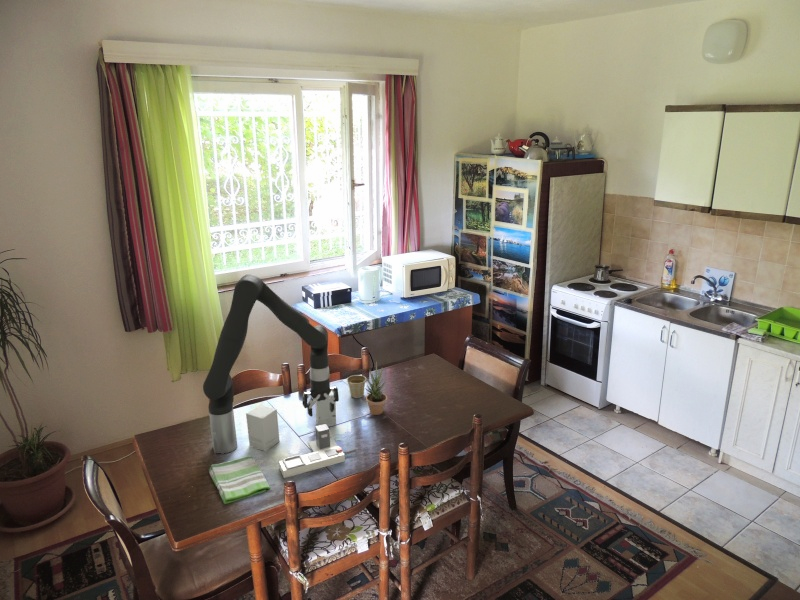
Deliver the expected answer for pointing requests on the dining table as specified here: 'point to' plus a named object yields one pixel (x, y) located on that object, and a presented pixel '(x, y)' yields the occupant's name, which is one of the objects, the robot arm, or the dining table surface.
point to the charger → (322, 436)
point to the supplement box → (262, 427)
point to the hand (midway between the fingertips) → (321, 413)
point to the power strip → (312, 461)
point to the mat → (316, 448)
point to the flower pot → (356, 385)
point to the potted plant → (376, 395)
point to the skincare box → (325, 412)
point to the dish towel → (238, 479)
